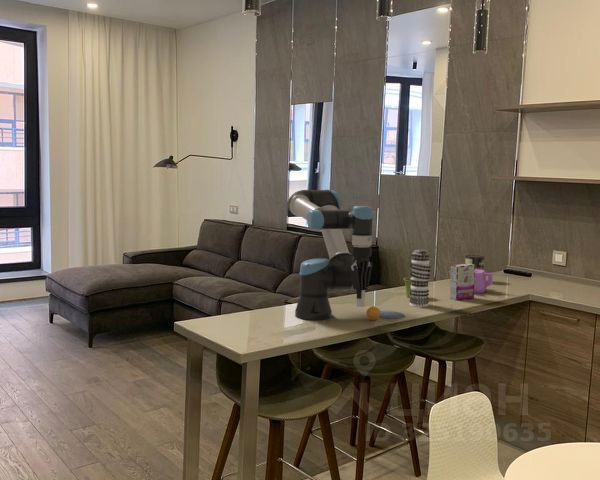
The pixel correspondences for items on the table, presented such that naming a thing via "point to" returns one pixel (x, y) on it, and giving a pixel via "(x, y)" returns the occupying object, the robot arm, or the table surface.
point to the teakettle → (481, 281)
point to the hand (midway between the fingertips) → (360, 306)
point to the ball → (373, 313)
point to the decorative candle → (419, 278)
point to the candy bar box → (462, 281)
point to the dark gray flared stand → (475, 261)
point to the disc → (391, 315)
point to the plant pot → (408, 286)
